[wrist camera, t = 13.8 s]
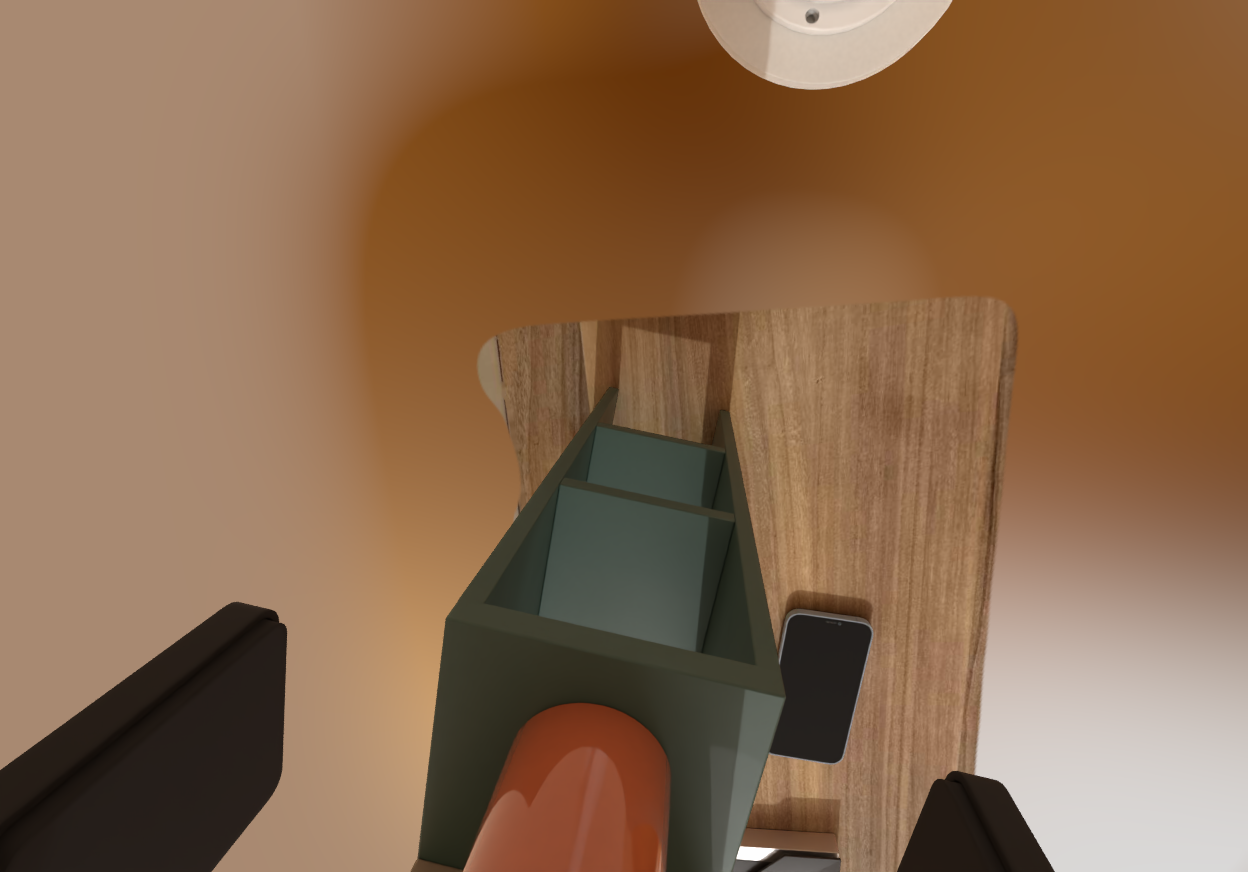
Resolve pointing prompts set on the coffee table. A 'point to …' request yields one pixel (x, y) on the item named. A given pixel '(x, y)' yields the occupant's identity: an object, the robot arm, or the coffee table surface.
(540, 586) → the shelf
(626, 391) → the coffee table surface
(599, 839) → the canister
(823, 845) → the picture frame
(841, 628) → the smartphone
